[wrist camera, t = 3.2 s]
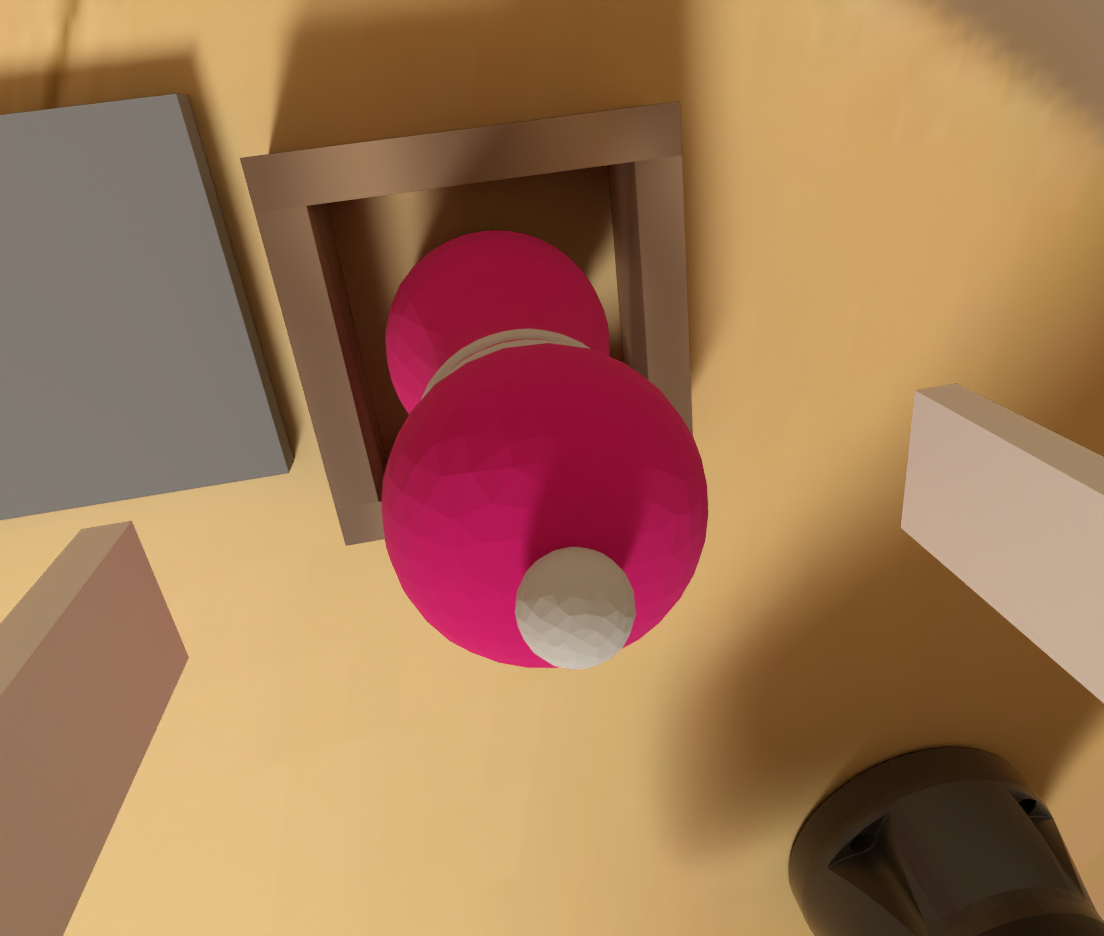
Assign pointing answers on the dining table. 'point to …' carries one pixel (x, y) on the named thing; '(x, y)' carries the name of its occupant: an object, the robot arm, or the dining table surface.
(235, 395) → the coaster
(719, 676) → the dining table surface
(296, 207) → the brown wooden square tray
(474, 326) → the pepper mill
